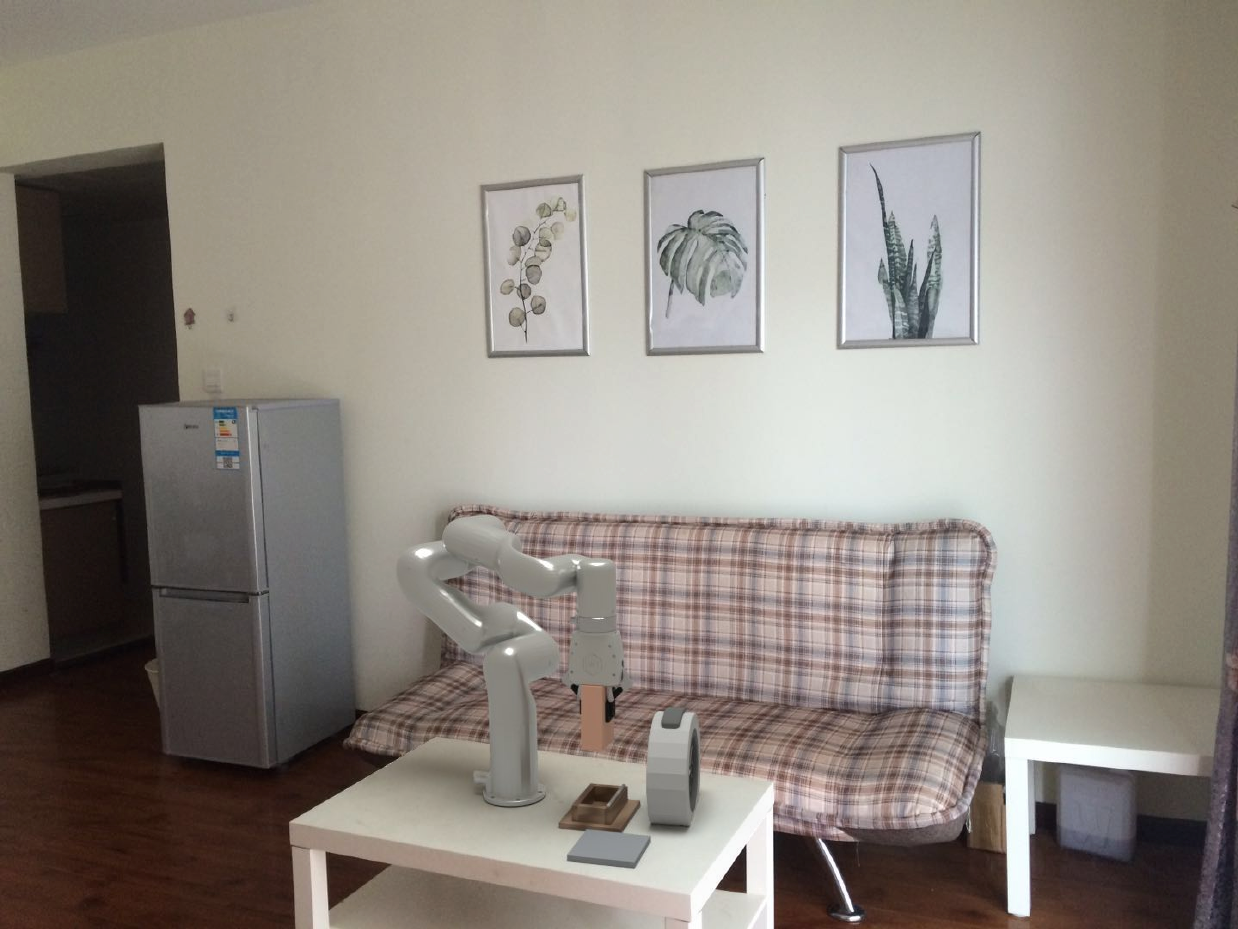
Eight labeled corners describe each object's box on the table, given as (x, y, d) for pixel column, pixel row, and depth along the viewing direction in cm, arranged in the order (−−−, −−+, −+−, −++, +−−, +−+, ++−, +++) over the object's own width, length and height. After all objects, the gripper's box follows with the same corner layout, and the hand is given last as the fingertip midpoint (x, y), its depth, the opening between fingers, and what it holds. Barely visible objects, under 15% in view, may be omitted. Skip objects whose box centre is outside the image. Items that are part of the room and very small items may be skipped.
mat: (567, 860, 170) (567, 855, 170) (586, 834, 181) (586, 829, 181) (634, 868, 167) (634, 862, 167) (650, 841, 178) (650, 836, 178)
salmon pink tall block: (581, 749, 185) (581, 686, 185) (594, 737, 193) (594, 676, 193) (601, 751, 184) (601, 687, 184) (613, 739, 192) (613, 677, 192)
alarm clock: (687, 835, 180) (685, 727, 179) (646, 832, 182) (644, 725, 181) (701, 791, 201) (699, 695, 200) (664, 789, 202) (663, 693, 202)
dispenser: (558, 828, 184) (558, 803, 184) (582, 800, 198) (581, 776, 197) (620, 834, 181) (620, 809, 181) (640, 805, 194) (640, 782, 194)
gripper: (548, 626, 186) (549, 722, 187) (634, 630, 182) (634, 729, 183) (561, 617, 193) (562, 710, 194) (644, 622, 189) (645, 717, 190)
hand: (597, 718), depth 188 cm, fingers closed on salmon pink tall block, 4 cm apart
